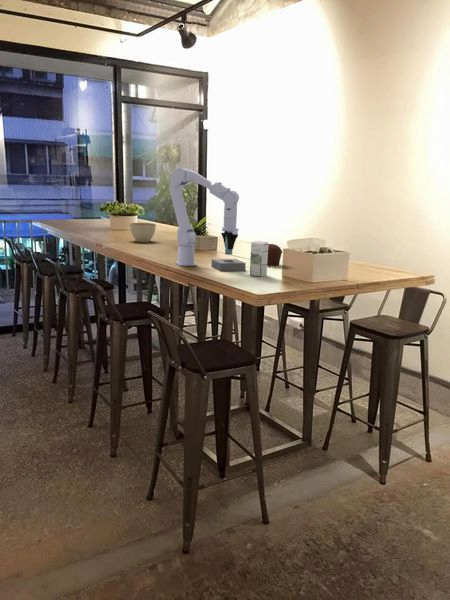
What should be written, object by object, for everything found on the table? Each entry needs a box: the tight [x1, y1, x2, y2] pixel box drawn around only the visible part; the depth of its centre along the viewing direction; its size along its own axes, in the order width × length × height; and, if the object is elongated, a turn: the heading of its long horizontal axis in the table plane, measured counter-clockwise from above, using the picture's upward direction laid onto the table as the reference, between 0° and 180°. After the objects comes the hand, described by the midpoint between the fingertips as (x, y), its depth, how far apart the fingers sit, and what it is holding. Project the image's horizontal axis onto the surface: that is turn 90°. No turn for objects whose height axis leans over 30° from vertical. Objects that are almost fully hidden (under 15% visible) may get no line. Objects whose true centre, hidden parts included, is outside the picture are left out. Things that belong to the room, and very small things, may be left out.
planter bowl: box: [129, 222, 157, 243], centre depth 324 cm, size 16×16×11 cm
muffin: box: [267, 243, 283, 267], centre depth 253 cm, size 12×11×10 cm
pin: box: [224, 238, 233, 256], centre depth 236 cm, size 3×3×8 cm
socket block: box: [210, 258, 246, 272], centre depth 238 cm, size 12×12×4 cm
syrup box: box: [249, 240, 269, 278], centre depth 223 cm, size 6×6×14 cm
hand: (228, 248), depth 236 cm, fingers closed on pin, 3 cm apart
